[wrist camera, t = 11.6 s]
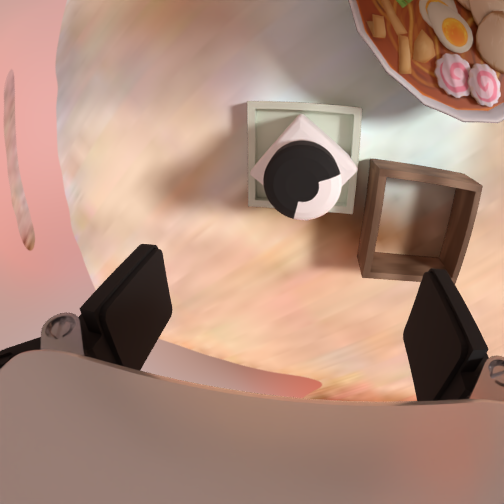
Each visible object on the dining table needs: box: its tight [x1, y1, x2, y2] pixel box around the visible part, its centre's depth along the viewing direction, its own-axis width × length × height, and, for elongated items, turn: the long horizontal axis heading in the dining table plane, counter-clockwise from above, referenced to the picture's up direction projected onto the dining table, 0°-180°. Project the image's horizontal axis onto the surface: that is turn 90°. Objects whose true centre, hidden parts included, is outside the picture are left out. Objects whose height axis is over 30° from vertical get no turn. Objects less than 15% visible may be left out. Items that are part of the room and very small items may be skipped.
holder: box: [357, 159, 482, 284], centre depth 32 cm, size 13×13×5 cm
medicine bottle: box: [250, 114, 357, 220], centre depth 27 cm, size 7×7×12 cm
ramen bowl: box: [348, 0, 504, 123], centre depth 19 cm, size 25×23×8 cm
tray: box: [247, 101, 362, 214], centre depth 32 cm, size 12×12×2 cm
